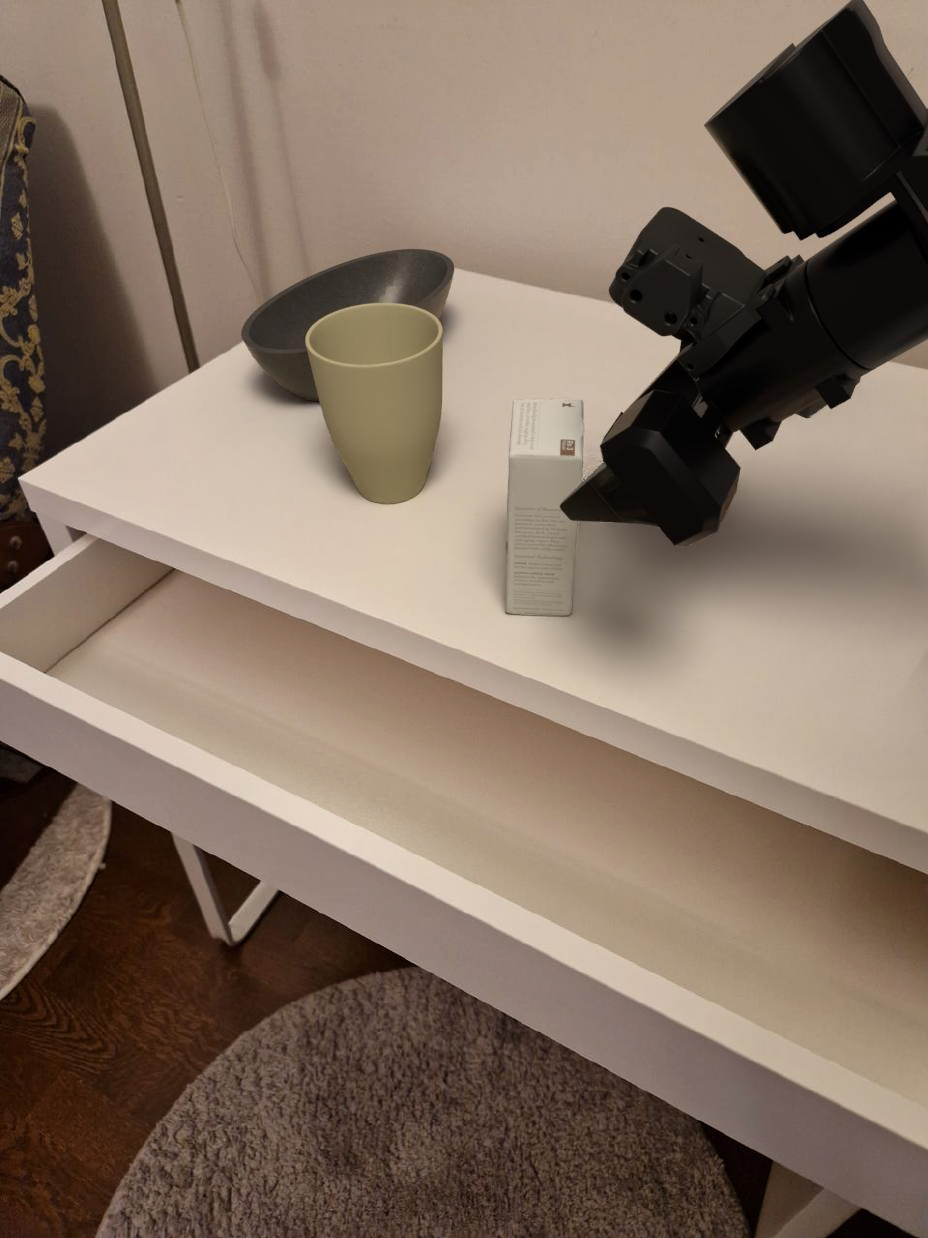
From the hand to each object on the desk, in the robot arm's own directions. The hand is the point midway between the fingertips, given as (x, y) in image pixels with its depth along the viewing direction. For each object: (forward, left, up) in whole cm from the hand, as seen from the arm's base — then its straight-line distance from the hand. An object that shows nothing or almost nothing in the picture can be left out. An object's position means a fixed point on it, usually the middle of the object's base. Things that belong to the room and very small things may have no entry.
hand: (596, 466), depth 54 cm
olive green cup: (+15, -12, -10) cm, 22 cm away
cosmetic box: (+3, -1, -10) cm, 11 cm away
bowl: (+21, -29, -10) cm, 37 cm away
